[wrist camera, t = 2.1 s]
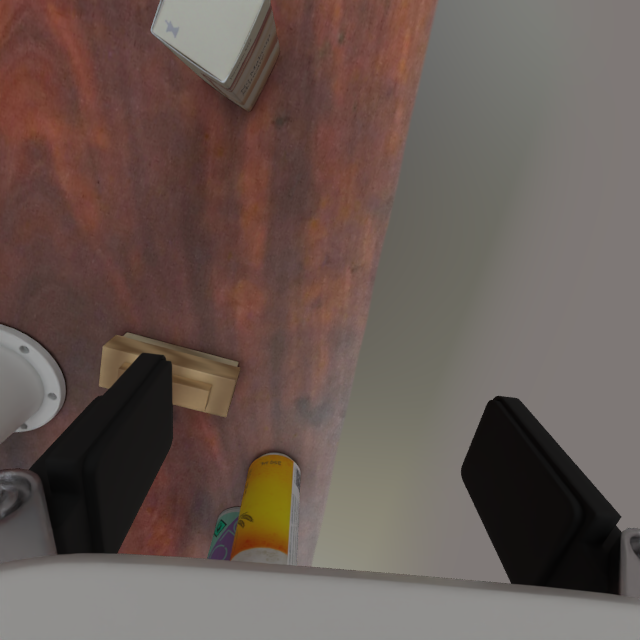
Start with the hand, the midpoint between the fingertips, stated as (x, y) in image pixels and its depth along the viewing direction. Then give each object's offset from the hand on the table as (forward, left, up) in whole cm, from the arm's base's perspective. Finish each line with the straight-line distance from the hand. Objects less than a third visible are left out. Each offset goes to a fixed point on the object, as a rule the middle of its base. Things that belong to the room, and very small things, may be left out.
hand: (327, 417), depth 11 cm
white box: (-10, +11, -24) cm, 28 cm away
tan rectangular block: (-10, -16, -24) cm, 30 cm away
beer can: (+3, -27, -24) cm, 36 cm away
